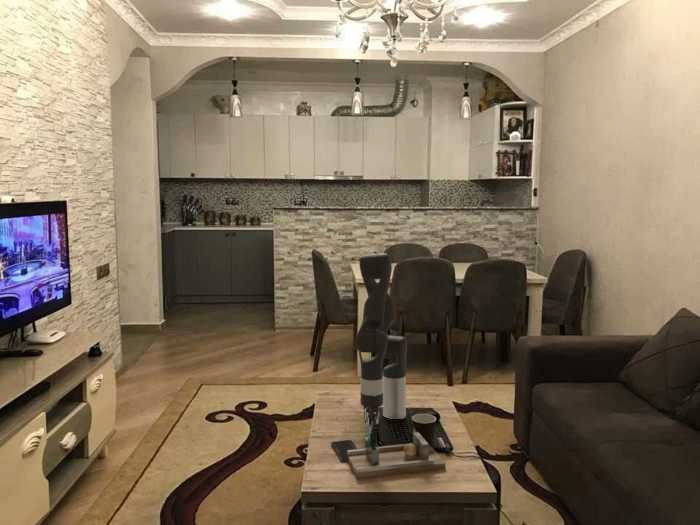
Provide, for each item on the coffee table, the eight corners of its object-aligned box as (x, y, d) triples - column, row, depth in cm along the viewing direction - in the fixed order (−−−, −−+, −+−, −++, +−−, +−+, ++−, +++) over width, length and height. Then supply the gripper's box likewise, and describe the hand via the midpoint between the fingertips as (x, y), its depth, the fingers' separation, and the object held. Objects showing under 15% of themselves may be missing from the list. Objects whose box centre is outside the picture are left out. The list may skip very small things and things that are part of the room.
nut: (401, 454, 204) (402, 441, 204) (414, 452, 205) (414, 440, 205) (406, 459, 200) (406, 447, 199) (418, 458, 201) (418, 446, 200)
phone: (351, 439, 219) (363, 457, 205) (351, 442, 219) (363, 460, 205) (330, 442, 217) (340, 460, 203) (330, 445, 217) (341, 463, 203)
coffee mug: (434, 451, 211) (435, 423, 210) (410, 449, 213) (410, 422, 211) (436, 437, 222) (437, 411, 221) (413, 435, 224) (413, 410, 223)
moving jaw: (363, 453, 204) (363, 418, 202) (372, 452, 205) (372, 417, 203) (371, 467, 194) (371, 429, 193) (380, 466, 195) (380, 428, 193)
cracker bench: (346, 458, 206) (346, 436, 204) (429, 449, 212) (429, 428, 211) (357, 479, 191) (357, 455, 190) (445, 468, 198) (445, 445, 197)
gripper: (355, 384, 202) (355, 433, 205) (366, 398, 189) (366, 450, 191) (377, 382, 204) (377, 430, 206) (389, 396, 190) (389, 448, 193)
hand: (372, 440), depth 199 cm, fingers closed on moving jaw, 3 cm apart
